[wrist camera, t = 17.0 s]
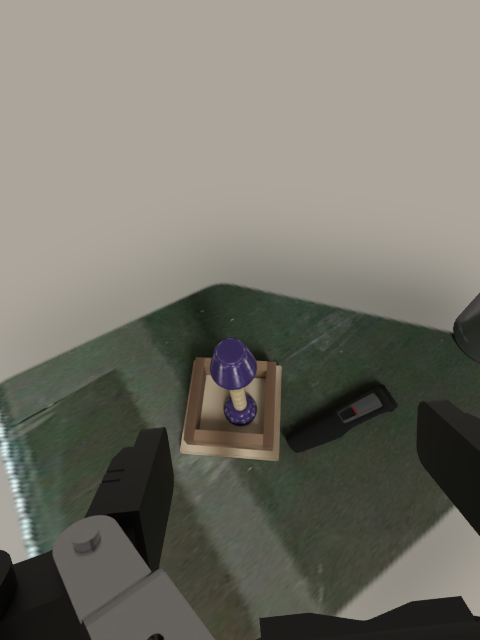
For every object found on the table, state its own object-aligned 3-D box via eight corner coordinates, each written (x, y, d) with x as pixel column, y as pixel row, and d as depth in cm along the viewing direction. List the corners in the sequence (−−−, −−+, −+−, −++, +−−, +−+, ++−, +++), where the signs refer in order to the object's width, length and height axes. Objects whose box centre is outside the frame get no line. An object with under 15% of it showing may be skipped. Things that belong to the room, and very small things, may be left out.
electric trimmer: (279, 434, 48) (280, 428, 46) (381, 384, 51) (388, 376, 48) (293, 462, 47) (295, 457, 44) (398, 409, 49) (406, 402, 47)
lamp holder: (280, 370, 52) (282, 356, 48) (278, 460, 46) (280, 453, 42) (195, 364, 53) (190, 351, 49) (182, 453, 47) (175, 445, 43)
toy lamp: (214, 417, 48) (197, 365, 33) (228, 384, 50) (218, 322, 35) (249, 431, 47) (247, 383, 32) (262, 397, 49) (266, 338, 34)
